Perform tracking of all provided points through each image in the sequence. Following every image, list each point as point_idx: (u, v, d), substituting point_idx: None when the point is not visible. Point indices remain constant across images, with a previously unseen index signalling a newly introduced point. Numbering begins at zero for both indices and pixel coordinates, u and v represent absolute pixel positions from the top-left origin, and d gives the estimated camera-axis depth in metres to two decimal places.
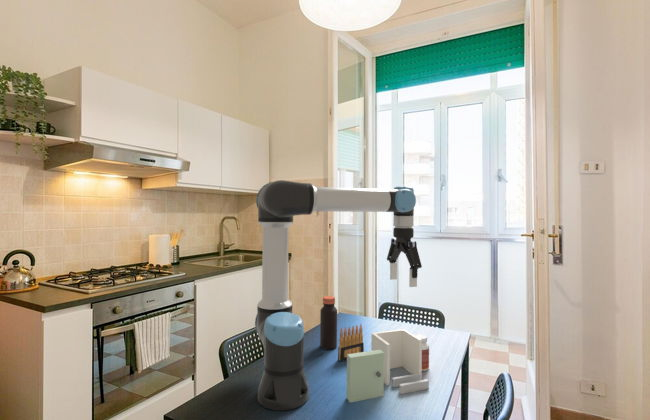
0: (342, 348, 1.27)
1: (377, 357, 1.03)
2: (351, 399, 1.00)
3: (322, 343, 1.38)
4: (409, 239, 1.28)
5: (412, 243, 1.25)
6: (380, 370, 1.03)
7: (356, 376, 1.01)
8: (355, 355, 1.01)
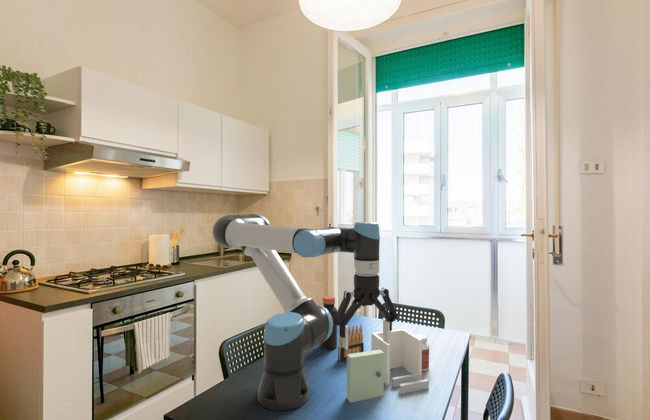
0: (342, 348, 1.27)
1: (377, 357, 1.03)
2: (351, 399, 1.00)
3: (322, 343, 1.38)
4: (355, 289, 1.01)
5: (344, 293, 1.01)
6: (380, 370, 1.03)
7: (356, 376, 1.01)
8: (355, 355, 1.01)
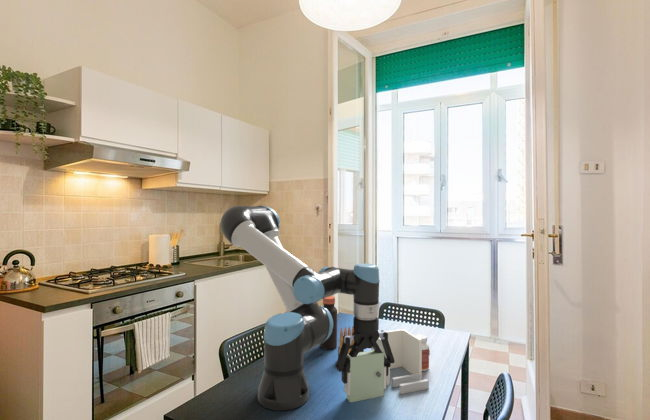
0: None
1: (377, 357, 1.03)
2: (351, 399, 1.00)
3: (322, 343, 1.38)
4: (354, 333, 1.01)
5: (344, 338, 1.01)
6: (380, 370, 1.03)
7: (356, 376, 1.01)
8: None
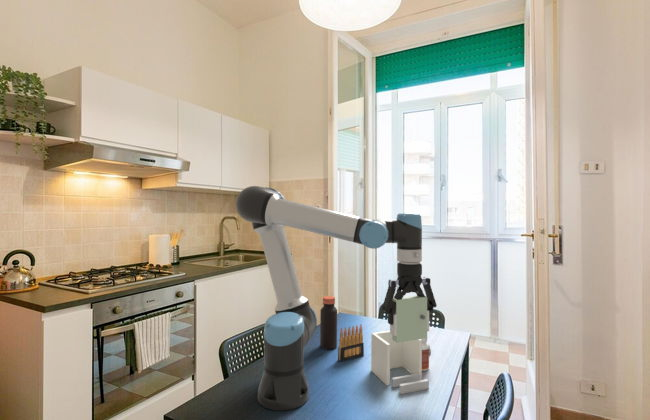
0: (342, 348, 1.27)
1: (420, 301, 1.08)
2: (397, 339, 1.05)
3: (322, 343, 1.38)
4: (399, 277, 1.07)
5: (389, 282, 1.06)
6: (424, 313, 1.08)
7: (402, 318, 1.06)
8: None
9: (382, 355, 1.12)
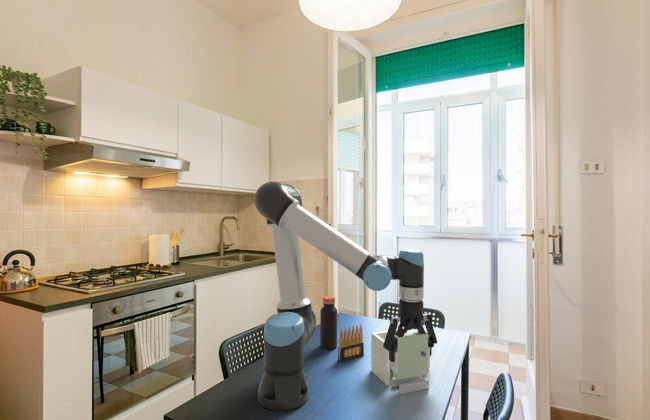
0: (342, 348, 1.27)
1: (421, 338, 1.08)
2: (398, 377, 1.06)
3: (322, 343, 1.38)
4: (400, 314, 1.07)
5: (391, 319, 1.07)
6: (425, 350, 1.09)
7: (403, 355, 1.06)
8: None
9: (382, 355, 1.12)
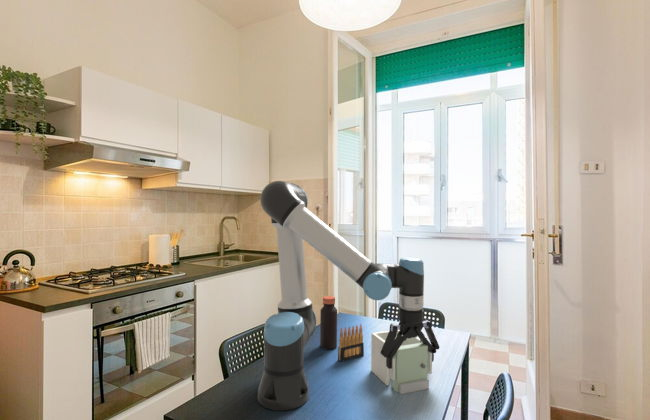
0: (342, 348, 1.27)
1: (421, 350, 1.09)
2: (398, 389, 1.06)
3: (322, 343, 1.38)
4: (401, 322, 1.07)
5: (391, 326, 1.07)
6: (424, 362, 1.09)
7: (403, 368, 1.06)
8: (401, 348, 1.07)
9: (382, 355, 1.12)
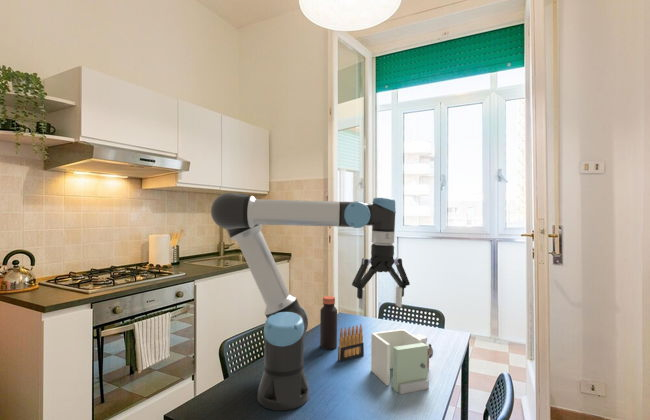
0: (342, 348, 1.27)
1: (421, 350, 1.09)
2: (398, 389, 1.06)
3: (322, 343, 1.38)
4: (372, 257, 1.14)
5: (362, 260, 1.14)
6: (424, 362, 1.09)
7: (403, 368, 1.06)
8: (401, 348, 1.07)
9: (382, 355, 1.12)
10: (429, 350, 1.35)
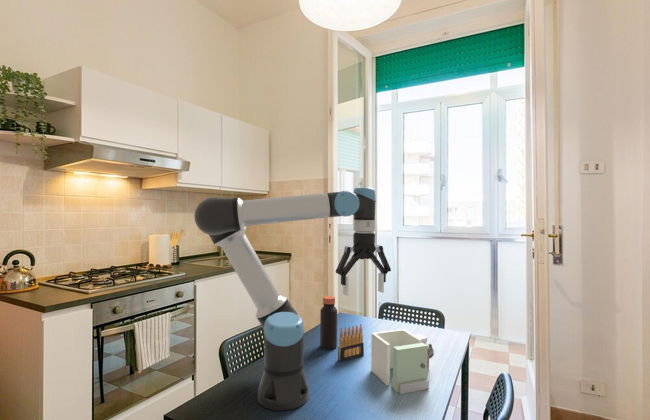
0: (342, 348, 1.27)
1: (421, 350, 1.09)
2: (398, 389, 1.06)
3: (322, 343, 1.38)
4: (354, 245, 1.19)
5: (345, 248, 1.18)
6: (424, 362, 1.09)
7: (403, 368, 1.06)
8: (401, 348, 1.07)
9: (382, 355, 1.12)
10: (430, 350, 1.35)
